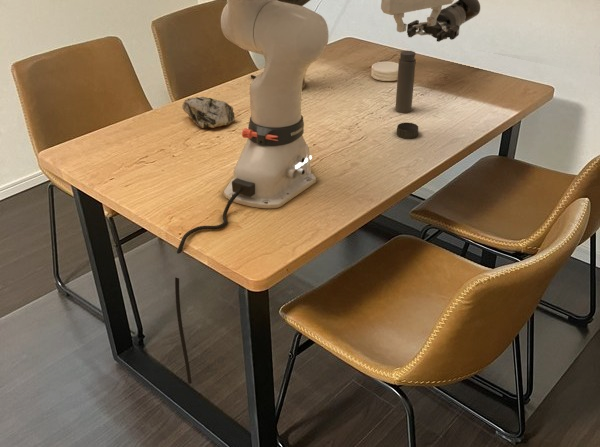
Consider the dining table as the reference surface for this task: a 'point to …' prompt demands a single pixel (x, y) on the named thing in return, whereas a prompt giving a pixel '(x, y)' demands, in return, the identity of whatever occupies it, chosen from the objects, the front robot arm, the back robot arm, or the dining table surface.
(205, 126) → the rock
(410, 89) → the brown cylindrical canister
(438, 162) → the dining table surface
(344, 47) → the dining table surface
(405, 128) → the lid
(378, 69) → the cream short cylinder
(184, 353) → the front robot arm
